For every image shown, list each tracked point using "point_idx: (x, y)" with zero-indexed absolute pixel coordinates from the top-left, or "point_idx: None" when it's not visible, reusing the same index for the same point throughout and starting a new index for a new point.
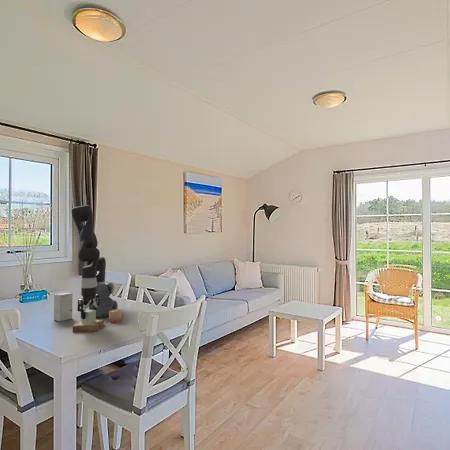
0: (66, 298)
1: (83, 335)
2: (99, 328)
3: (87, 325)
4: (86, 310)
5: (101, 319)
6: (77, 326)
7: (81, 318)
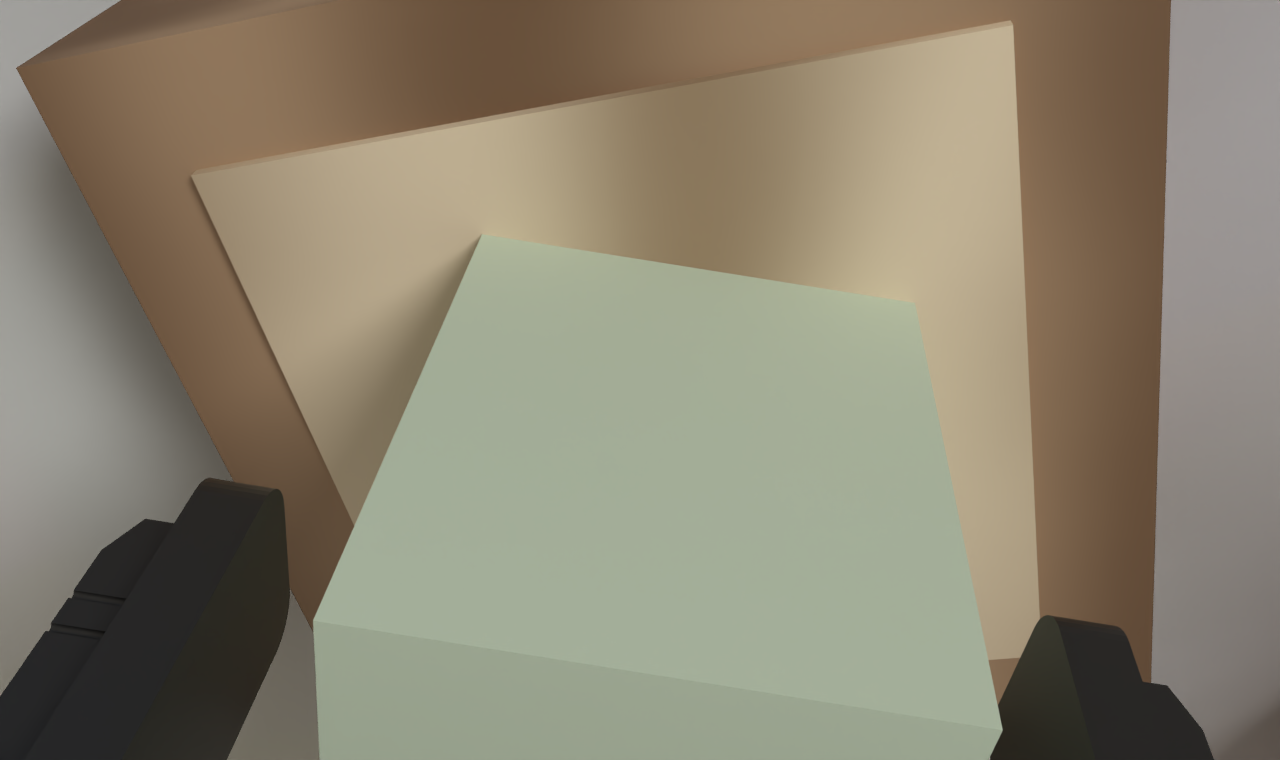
0: None
1: (46, 479)
2: None
3: (320, 543)
4: (684, 746)
5: (1148, 648)
6: (126, 254)
7: (203, 496)
